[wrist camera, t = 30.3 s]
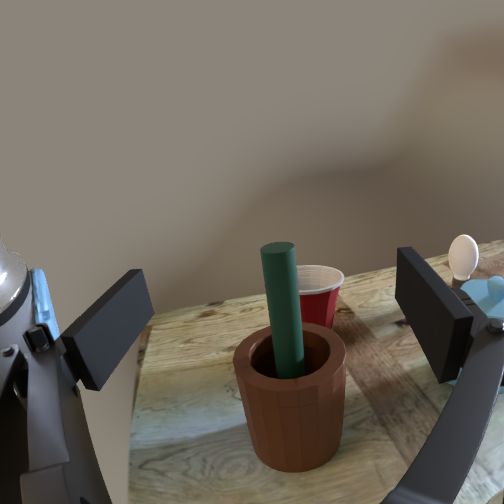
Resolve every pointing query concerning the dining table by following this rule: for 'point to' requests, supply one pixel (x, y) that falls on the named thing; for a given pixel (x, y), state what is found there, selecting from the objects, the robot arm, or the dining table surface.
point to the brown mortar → (293, 399)
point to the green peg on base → (284, 308)
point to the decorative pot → (486, 301)
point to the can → (497, 498)
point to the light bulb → (462, 259)
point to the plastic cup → (318, 293)
